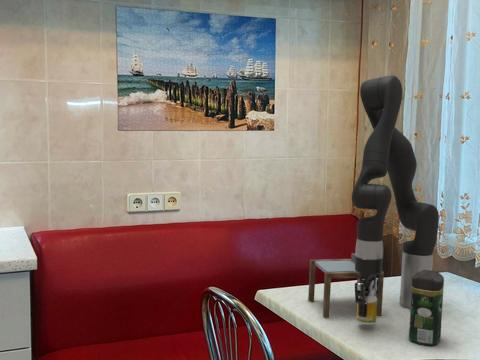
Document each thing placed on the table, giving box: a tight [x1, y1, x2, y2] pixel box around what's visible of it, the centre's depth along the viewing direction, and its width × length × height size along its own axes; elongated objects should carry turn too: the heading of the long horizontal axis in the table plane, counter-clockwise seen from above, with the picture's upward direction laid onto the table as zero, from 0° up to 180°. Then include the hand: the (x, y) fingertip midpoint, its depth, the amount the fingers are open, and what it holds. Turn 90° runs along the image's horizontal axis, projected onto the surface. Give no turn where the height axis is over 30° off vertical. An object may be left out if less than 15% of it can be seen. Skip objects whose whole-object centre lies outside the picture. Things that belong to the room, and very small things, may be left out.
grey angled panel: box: [315, 252, 356, 274], centre depth 167 cm, size 17×12×6 cm
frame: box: [307, 258, 385, 319], centre depth 167 cm, size 18×16×14 cm
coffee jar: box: [408, 270, 445, 346], centre depth 144 cm, size 10×8×19 cm
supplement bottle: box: [356, 288, 377, 326], centre depth 152 cm, size 5×5×10 cm
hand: (366, 313), depth 152 cm, fingers closed on supplement bottle, 5 cm apart
